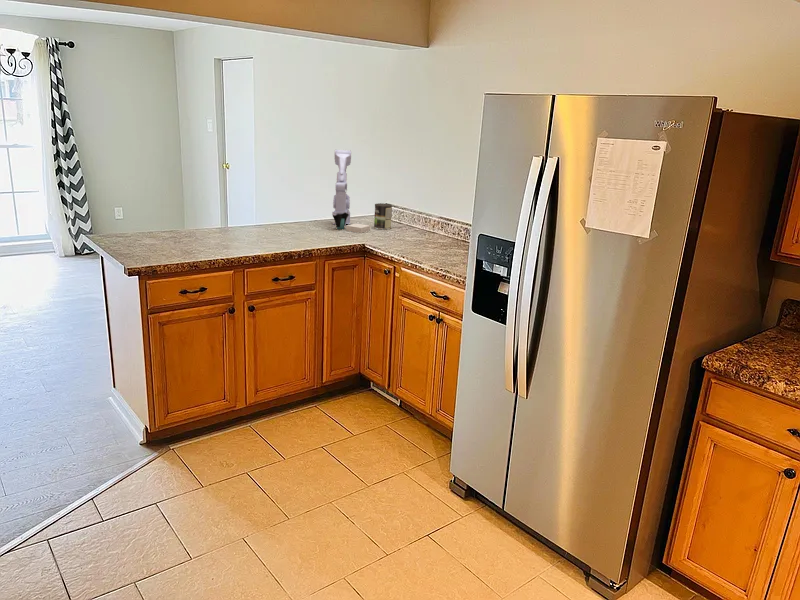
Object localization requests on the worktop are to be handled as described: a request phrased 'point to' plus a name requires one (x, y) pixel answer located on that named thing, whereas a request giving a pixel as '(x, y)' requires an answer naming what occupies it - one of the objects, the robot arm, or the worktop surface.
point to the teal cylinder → (341, 224)
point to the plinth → (357, 228)
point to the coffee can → (382, 216)
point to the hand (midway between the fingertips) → (340, 226)
